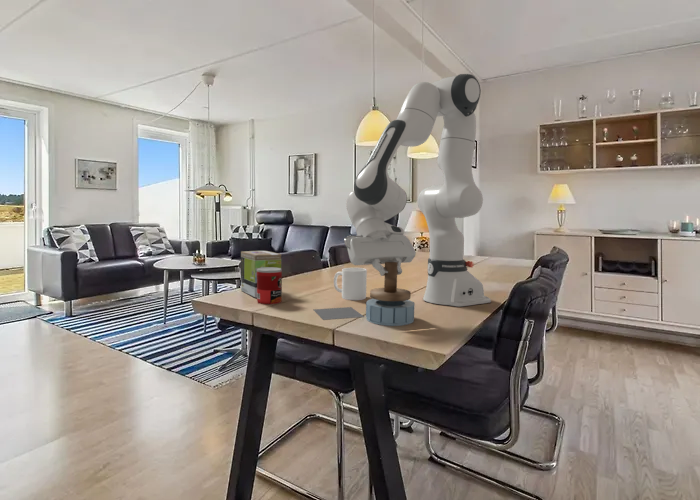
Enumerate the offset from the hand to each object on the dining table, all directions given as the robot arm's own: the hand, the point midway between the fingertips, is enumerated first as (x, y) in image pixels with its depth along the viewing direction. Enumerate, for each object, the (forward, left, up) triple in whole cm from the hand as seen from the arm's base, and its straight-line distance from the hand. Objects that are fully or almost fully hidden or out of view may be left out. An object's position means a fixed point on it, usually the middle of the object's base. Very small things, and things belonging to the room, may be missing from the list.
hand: (392, 273), depth 114 cm
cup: (+2, -31, -13) cm, 33 cm away
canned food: (+29, -31, -13) cm, 44 cm away
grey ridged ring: (0, -1, -13) cm, 13 cm away
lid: (0, -1, -6) cm, 6 cm away
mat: (+12, -11, -13) cm, 21 cm away
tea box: (+30, -47, -13) cm, 57 cm away
